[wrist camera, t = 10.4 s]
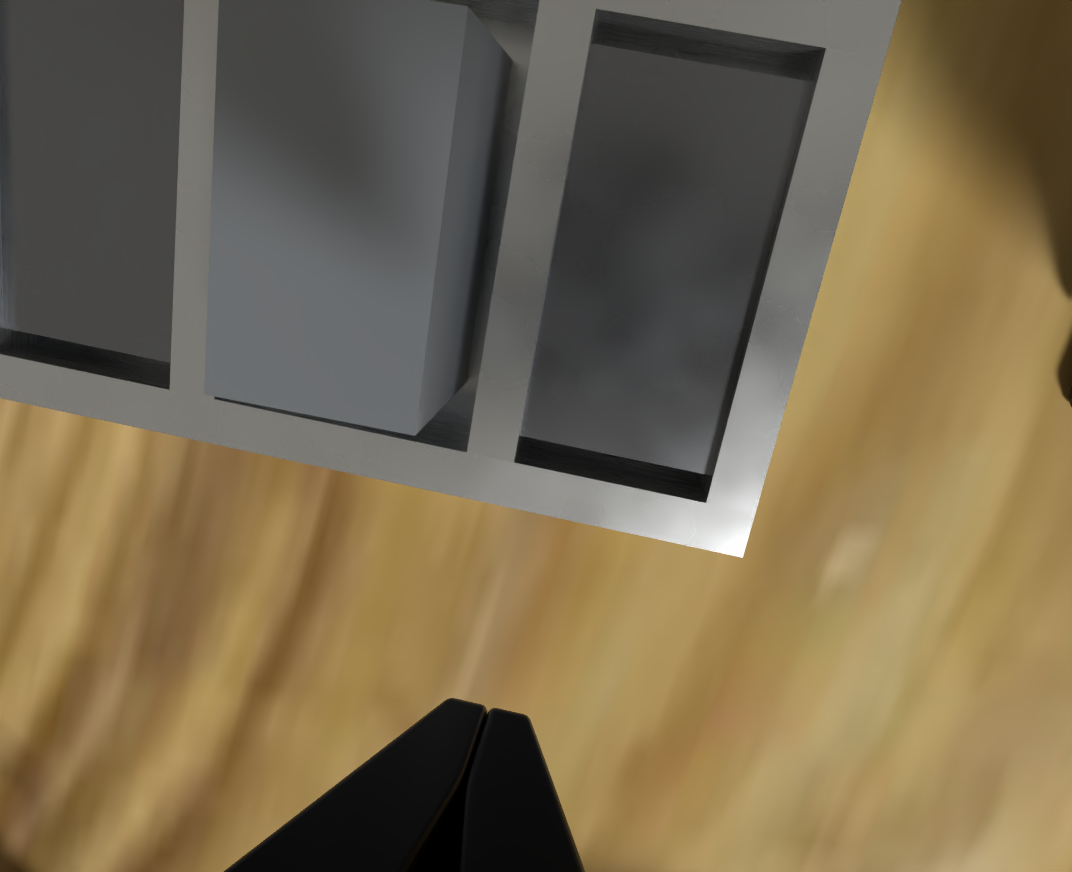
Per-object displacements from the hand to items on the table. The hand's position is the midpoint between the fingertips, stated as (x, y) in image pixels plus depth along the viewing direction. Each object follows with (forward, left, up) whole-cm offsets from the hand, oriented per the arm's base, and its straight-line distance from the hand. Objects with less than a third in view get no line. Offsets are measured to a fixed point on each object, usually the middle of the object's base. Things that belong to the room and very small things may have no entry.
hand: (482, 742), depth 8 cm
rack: (+5, -4, -12) cm, 14 cm away
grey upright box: (+5, -4, -11) cm, 13 cm away
